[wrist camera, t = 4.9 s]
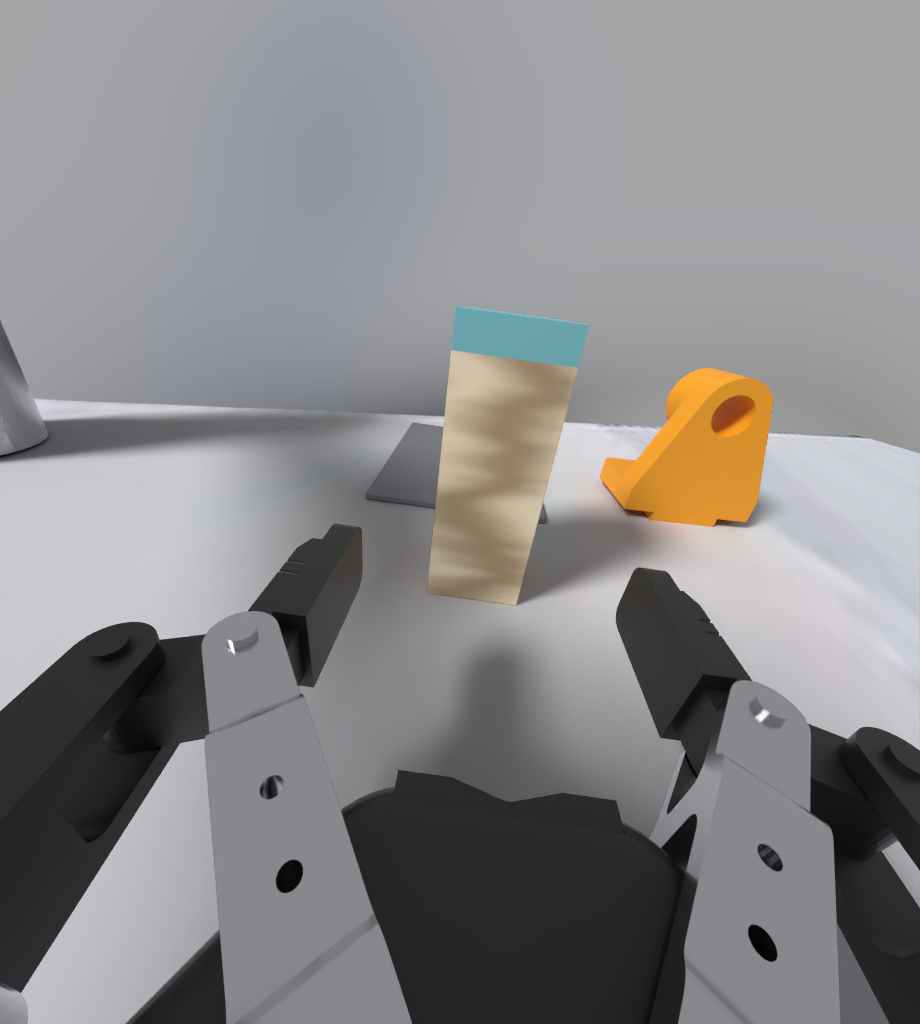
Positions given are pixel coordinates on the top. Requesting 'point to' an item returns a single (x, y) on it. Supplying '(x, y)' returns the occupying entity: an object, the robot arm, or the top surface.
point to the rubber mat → (414, 470)
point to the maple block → (498, 447)
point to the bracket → (700, 453)
